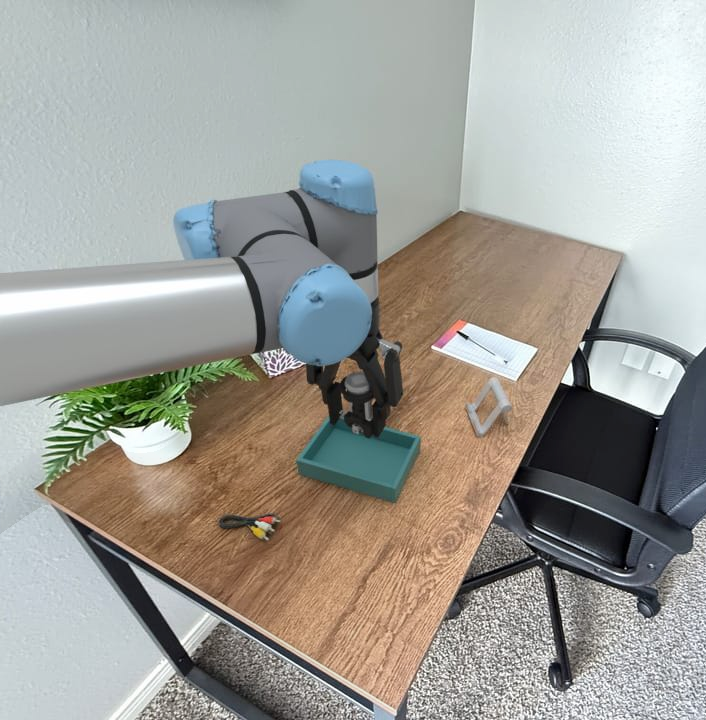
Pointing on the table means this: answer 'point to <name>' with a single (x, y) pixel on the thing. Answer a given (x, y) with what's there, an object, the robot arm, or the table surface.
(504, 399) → the tablet stand
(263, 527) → the composite cable
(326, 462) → the tray
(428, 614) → the table surface
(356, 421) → the push button
